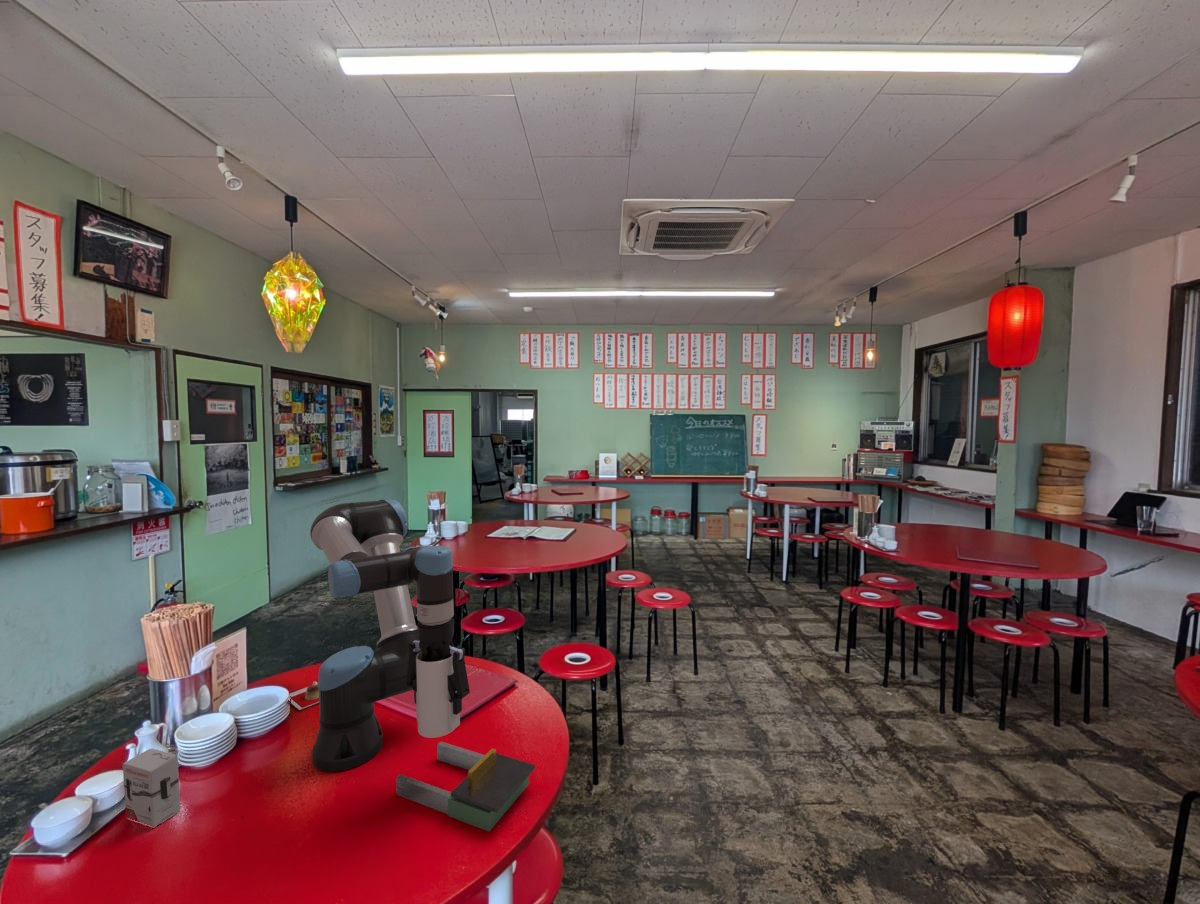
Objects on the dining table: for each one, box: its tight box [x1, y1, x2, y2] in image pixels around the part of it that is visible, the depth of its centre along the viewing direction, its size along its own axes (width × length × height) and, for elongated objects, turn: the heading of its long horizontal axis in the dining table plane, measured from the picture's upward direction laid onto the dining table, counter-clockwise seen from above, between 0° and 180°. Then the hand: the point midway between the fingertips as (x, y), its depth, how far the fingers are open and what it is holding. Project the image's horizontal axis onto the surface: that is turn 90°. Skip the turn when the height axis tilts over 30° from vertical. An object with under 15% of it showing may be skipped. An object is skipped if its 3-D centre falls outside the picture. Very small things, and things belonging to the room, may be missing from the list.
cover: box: [450, 748, 536, 813], centre depth 102 cm, size 11×14×4 cm
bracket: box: [395, 741, 486, 815], centre depth 107 cm, size 14×13×4 cm
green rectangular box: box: [447, 775, 530, 832], centre depth 102 cm, size 10×14×4 cm
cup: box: [416, 651, 454, 739], centre depth 107 cm, size 8×8×16 cm
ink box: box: [122, 748, 181, 827], centre depth 99 cm, size 8×5×12 cm, turn 73°
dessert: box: [289, 681, 319, 711], centre depth 144 cm, size 12×12×5 cm
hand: (438, 722), depth 107 cm, fingers closed on cup, 8 cm apart
